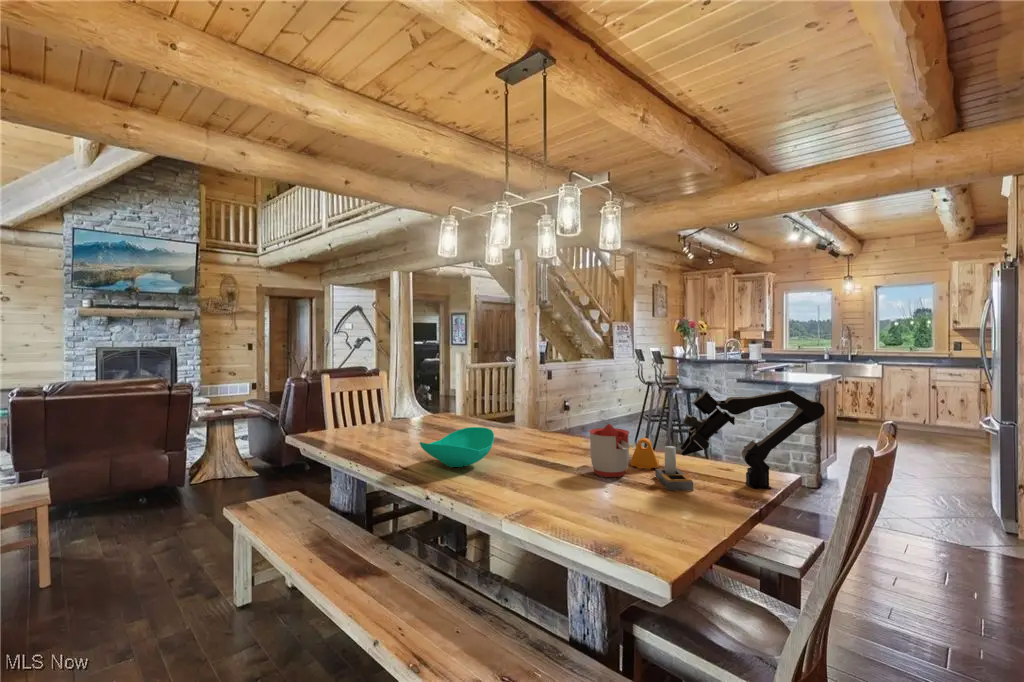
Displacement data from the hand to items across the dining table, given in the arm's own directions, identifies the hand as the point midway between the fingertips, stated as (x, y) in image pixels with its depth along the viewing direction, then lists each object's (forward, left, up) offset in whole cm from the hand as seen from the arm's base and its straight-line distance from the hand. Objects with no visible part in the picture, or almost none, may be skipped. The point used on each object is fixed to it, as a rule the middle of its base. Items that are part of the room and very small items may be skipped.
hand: (681, 451), depth 177 cm
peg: (+4, -1, -11) cm, 12 cm away
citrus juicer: (+25, -9, -11) cm, 29 cm away
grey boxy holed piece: (+4, +3, -11) cm, 12 cm away
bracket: (+9, -21, -11) cm, 25 cm away
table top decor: (+88, -22, -11) cm, 91 cm away
